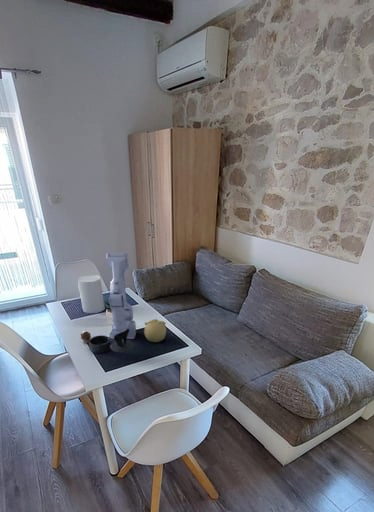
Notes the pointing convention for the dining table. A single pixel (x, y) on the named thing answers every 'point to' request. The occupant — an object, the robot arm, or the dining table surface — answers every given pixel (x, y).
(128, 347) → the lid
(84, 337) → the mushroom
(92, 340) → the pot
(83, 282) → the canister
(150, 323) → the sculpture
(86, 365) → the dining table surface
